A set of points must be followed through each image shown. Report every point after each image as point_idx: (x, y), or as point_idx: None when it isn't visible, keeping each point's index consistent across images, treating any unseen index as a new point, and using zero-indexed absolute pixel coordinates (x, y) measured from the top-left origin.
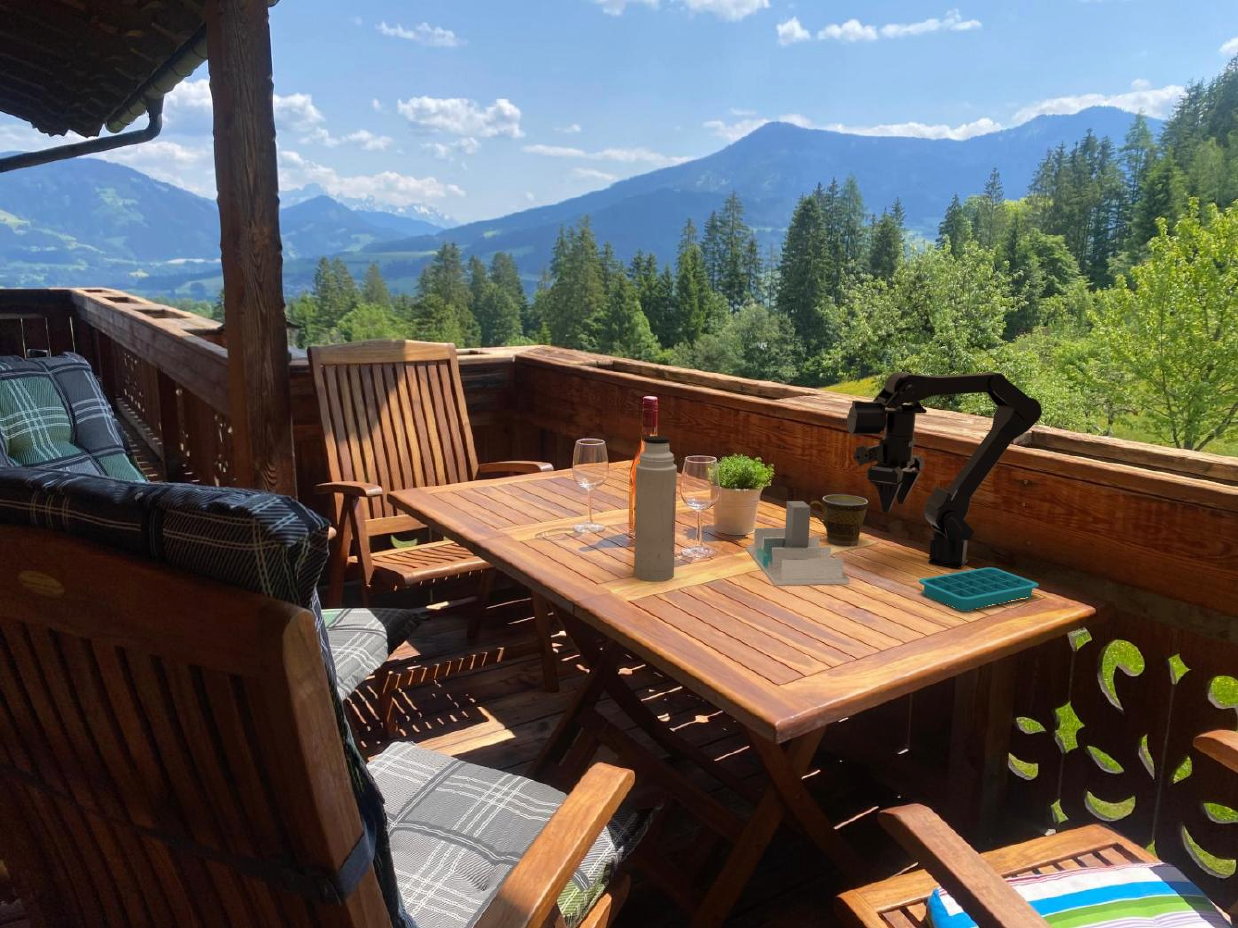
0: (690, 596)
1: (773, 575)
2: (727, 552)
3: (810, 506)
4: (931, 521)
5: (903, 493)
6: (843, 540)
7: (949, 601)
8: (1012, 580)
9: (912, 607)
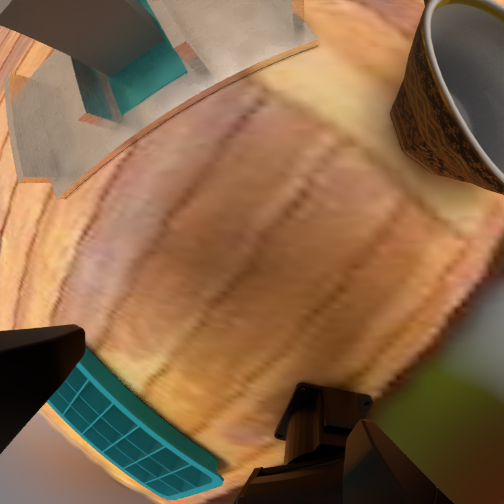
0: (8, 32)
1: (46, 62)
2: None
3: None
4: (303, 473)
5: (357, 496)
6: (397, 123)
7: None
8: (166, 483)
9: (30, 316)
